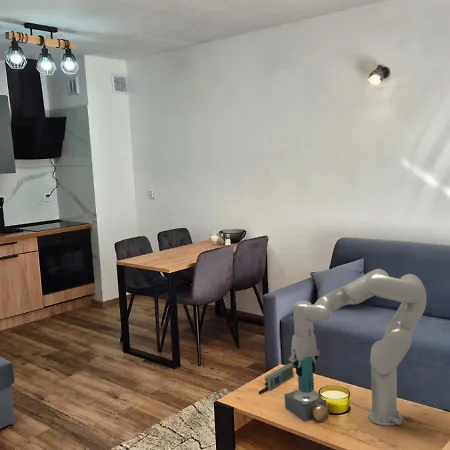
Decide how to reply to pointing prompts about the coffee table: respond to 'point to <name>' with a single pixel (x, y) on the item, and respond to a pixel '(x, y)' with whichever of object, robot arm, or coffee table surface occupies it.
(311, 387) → the beverage bottle
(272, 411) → the coffee table surface
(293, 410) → the motor housing
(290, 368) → the handheld radio
